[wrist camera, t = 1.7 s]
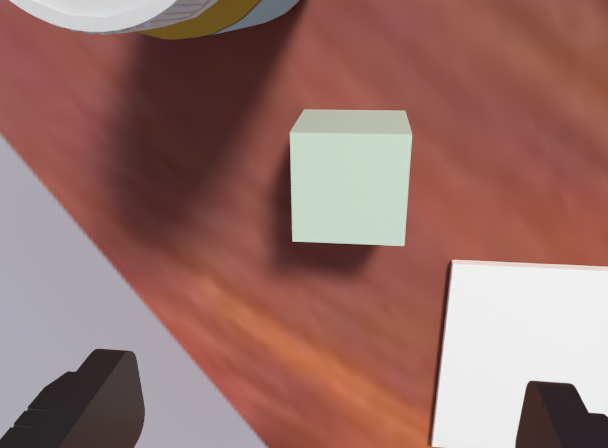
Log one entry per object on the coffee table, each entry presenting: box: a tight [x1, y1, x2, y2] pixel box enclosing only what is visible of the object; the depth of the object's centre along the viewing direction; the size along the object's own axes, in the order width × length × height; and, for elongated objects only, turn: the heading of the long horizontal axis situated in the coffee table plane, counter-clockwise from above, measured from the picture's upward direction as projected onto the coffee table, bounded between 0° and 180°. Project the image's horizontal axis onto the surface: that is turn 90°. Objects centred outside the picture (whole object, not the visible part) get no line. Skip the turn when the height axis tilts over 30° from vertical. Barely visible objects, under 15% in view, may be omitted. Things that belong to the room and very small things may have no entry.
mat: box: [431, 260, 608, 448], centre depth 30 cm, size 13×13×1 cm
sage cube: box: [290, 109, 412, 246], centre depth 25 cm, size 5×5×5 cm
